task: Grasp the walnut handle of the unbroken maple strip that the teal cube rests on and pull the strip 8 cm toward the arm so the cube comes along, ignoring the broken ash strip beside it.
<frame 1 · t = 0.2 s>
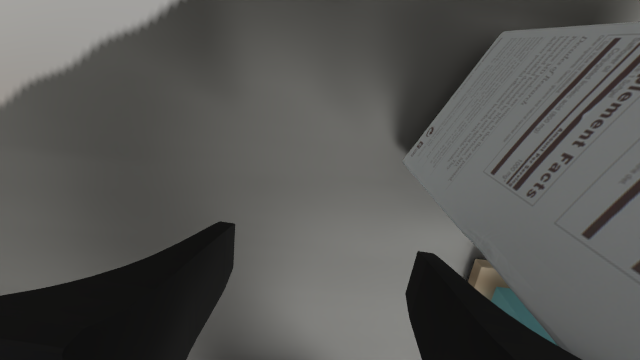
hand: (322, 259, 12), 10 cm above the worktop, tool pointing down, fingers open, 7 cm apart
supplement box: (497, 138, 19), on the worktop
cube: (519, 317, 23), point 1 cm above the worktop, touching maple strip
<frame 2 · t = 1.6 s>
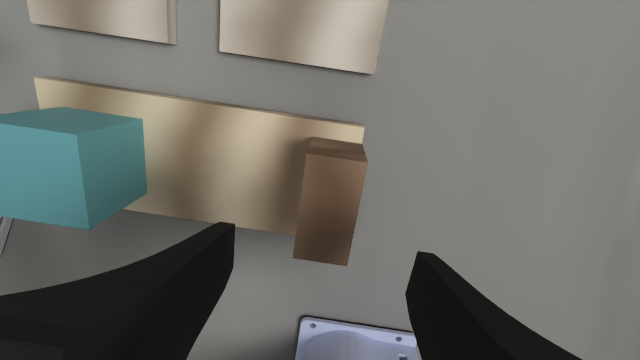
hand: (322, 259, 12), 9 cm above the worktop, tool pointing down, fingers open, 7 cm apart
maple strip: (187, 173, 18), point 3 cm above the worktop, slide at 0.0 cm, touching cube
cube: (106, 151, 19), point 1 cm above the worktop, touching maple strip
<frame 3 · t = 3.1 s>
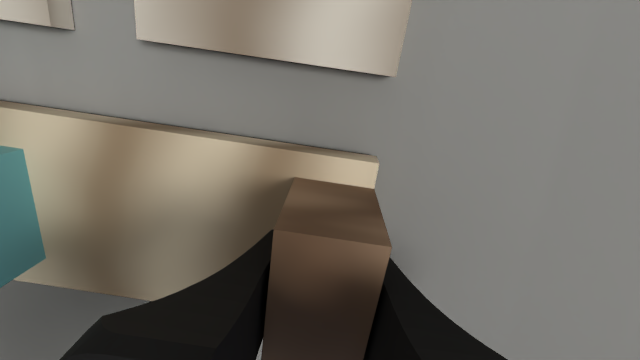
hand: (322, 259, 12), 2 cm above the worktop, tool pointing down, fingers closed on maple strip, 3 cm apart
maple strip: (90, 239, 11), point 3 cm above the worktop, slide at 0.0 cm, touching cube, gripper
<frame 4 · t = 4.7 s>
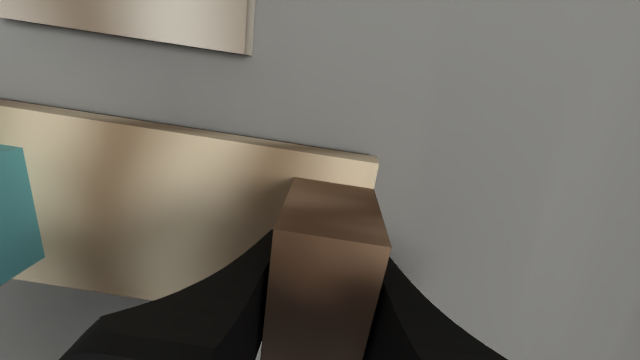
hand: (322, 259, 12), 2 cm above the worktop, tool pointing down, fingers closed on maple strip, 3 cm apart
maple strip: (90, 238, 11), point 3 cm above the worktop, slide at 5.3 cm, touching cube, gripper
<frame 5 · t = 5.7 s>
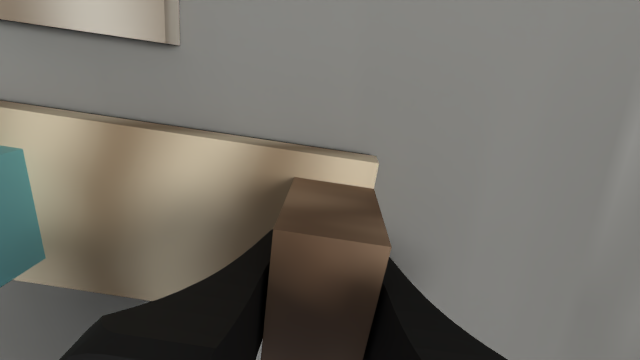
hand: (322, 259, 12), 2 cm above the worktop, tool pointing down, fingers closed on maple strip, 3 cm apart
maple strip: (90, 238, 11), point 3 cm above the worktop, slide at 8.0 cm, touching cube, gripper
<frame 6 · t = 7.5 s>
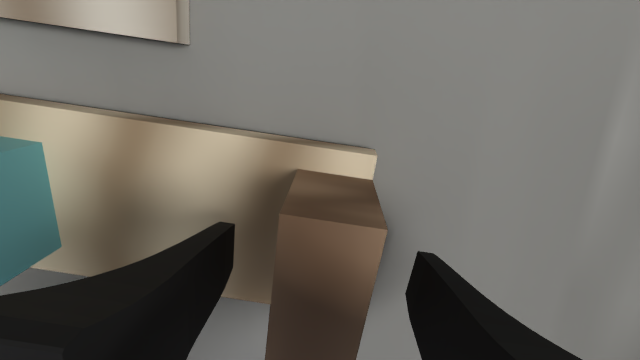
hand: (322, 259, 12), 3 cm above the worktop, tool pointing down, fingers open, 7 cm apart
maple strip: (106, 226, 12), point 3 cm above the worktop, slide at 8.0 cm, touching cube
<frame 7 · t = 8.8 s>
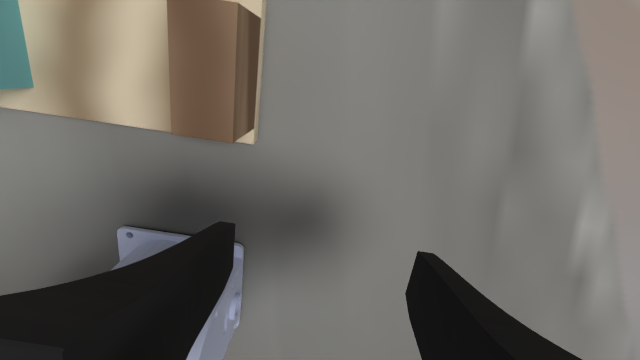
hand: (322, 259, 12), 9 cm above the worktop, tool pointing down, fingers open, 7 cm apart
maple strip: (63, 49, 16), point 3 cm above the worktop, slide at 8.0 cm, touching cube
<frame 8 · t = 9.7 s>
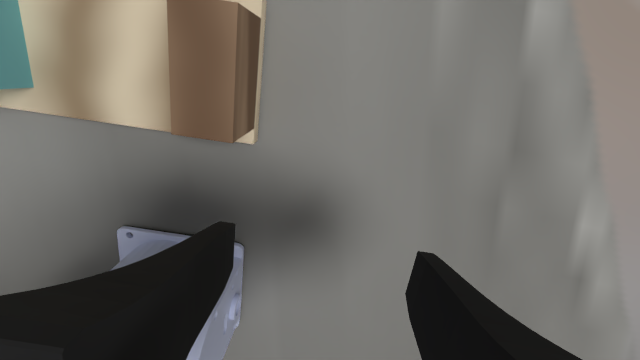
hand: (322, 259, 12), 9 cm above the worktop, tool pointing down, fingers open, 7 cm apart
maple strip: (63, 49, 16), point 3 cm above the worktop, slide at 8.0 cm, touching cube
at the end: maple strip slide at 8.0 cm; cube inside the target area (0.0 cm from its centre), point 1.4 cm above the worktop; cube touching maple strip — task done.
